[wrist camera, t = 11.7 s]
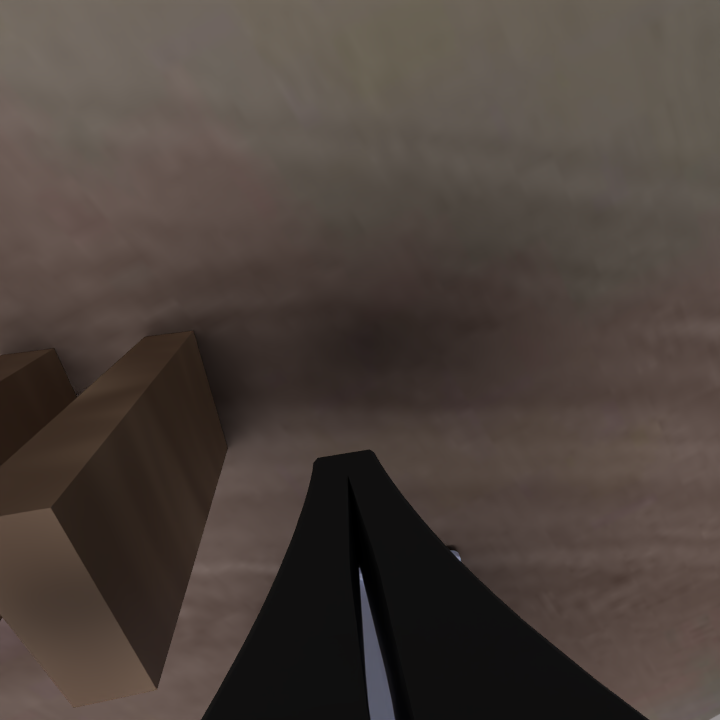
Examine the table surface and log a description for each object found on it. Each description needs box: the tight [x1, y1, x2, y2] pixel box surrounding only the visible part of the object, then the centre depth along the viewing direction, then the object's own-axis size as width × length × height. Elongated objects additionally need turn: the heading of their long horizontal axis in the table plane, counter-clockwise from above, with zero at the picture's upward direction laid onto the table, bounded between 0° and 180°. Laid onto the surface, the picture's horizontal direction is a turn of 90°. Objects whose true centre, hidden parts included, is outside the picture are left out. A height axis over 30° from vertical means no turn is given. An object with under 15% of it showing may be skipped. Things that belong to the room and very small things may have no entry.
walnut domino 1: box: [0, 331, 228, 708], centre depth 10 cm, size 2×5×8 cm, turn 5°
